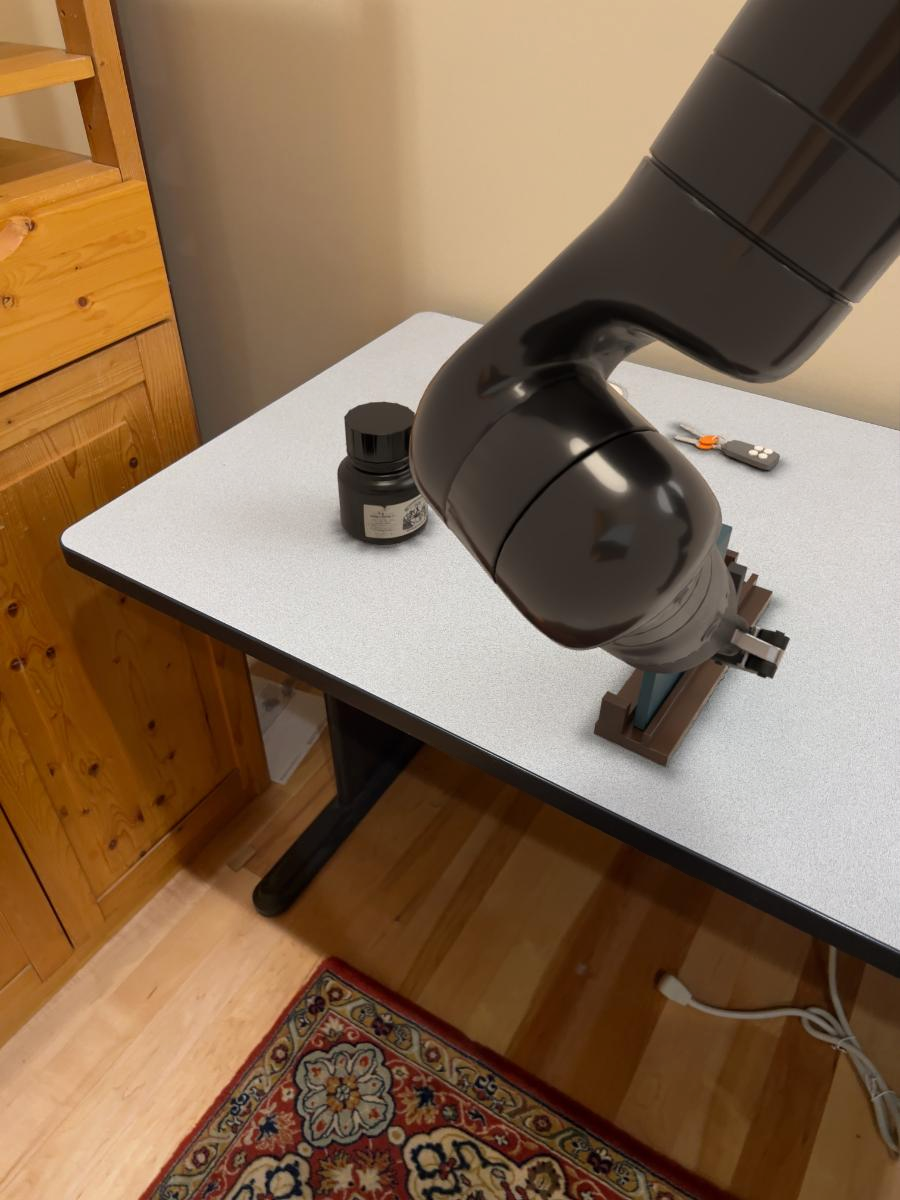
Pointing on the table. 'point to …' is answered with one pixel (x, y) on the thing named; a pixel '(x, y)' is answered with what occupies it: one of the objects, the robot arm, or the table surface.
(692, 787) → the table surface
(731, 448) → the key chain
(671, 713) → the door rail
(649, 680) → the sliding door
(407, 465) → the ink bottle
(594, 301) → the robot arm
